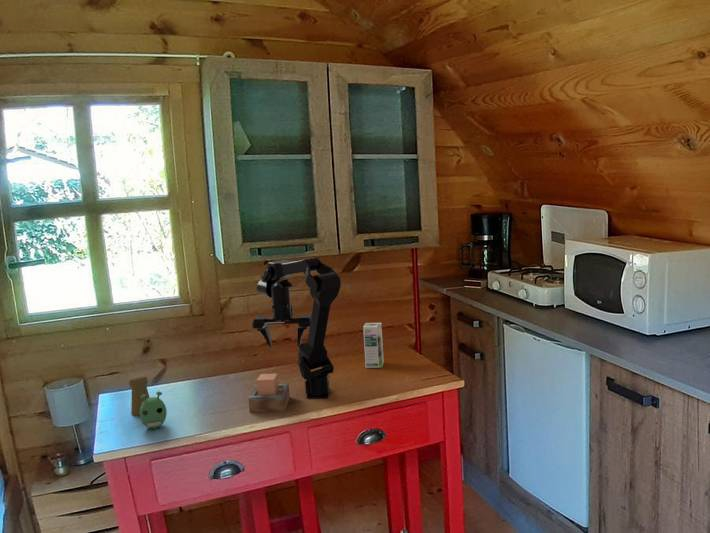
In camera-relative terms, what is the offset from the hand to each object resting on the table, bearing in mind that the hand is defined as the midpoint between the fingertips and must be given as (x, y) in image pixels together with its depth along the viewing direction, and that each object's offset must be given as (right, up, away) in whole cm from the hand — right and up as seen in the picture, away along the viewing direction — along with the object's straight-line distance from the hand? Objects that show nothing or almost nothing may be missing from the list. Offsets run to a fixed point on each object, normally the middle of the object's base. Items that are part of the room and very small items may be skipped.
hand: (284, 346), depth 193 cm
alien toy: (-32, -19, -28) cm, 47 cm away
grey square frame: (-2, -15, -17) cm, 23 cm away
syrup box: (+29, -8, +11) cm, 32 cm away
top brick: (-3, -11, -18) cm, 21 cm away
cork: (-40, -17, -17) cm, 47 cm away
